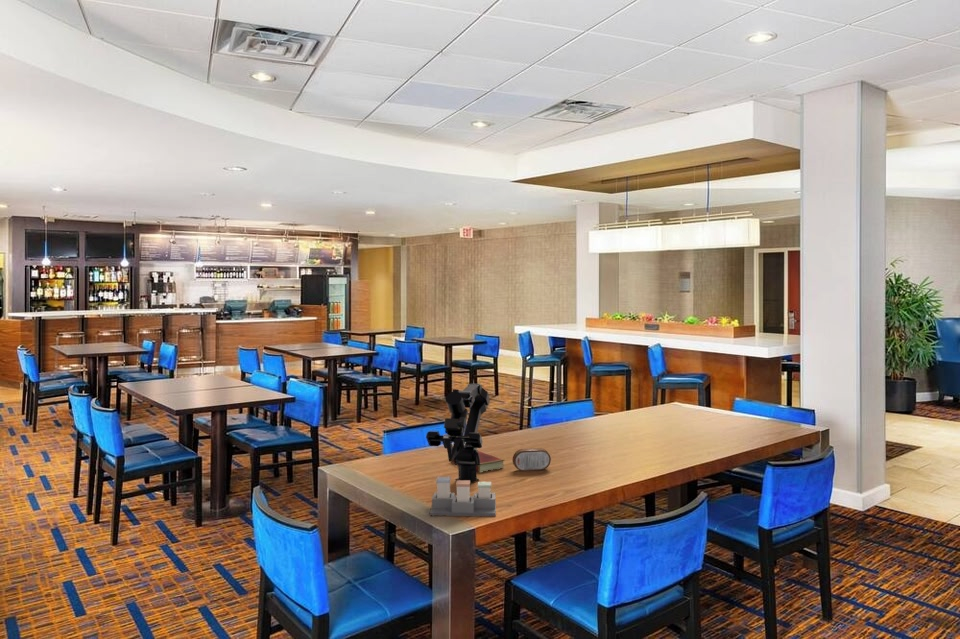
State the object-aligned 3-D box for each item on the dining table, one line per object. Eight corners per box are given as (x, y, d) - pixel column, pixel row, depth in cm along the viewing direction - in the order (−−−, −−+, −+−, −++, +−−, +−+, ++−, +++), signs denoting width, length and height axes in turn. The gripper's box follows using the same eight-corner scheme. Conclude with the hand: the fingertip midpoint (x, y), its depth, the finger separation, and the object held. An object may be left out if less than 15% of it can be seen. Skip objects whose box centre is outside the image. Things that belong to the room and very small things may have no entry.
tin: (549, 468, 260) (549, 447, 259) (551, 470, 257) (551, 448, 256) (512, 470, 257) (512, 448, 257) (514, 472, 254) (514, 450, 254)
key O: (478, 503, 213) (478, 481, 213) (491, 503, 213) (491, 481, 213) (477, 507, 209) (477, 485, 209) (490, 507, 209) (490, 485, 209)
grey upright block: (437, 498, 213) (437, 476, 213) (450, 498, 213) (450, 476, 213) (436, 502, 209) (436, 480, 209) (449, 502, 209) (449, 480, 209)
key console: (433, 504, 215) (433, 492, 215) (496, 504, 214) (495, 492, 214) (429, 515, 204) (429, 503, 204) (495, 516, 203) (495, 503, 203)
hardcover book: (479, 474, 253) (478, 463, 253) (451, 462, 271) (451, 452, 271) (504, 469, 260) (504, 458, 260) (476, 458, 277) (475, 448, 277)
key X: (457, 502, 209) (457, 480, 209) (470, 502, 209) (470, 480, 209) (456, 506, 205) (456, 484, 205) (469, 506, 205) (469, 484, 205)
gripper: (427, 407, 225) (417, 446, 215) (480, 409, 221) (473, 449, 211) (433, 426, 233) (425, 464, 223) (485, 427, 229) (478, 467, 219)
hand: (450, 461), depth 219 cm, fingers closed
